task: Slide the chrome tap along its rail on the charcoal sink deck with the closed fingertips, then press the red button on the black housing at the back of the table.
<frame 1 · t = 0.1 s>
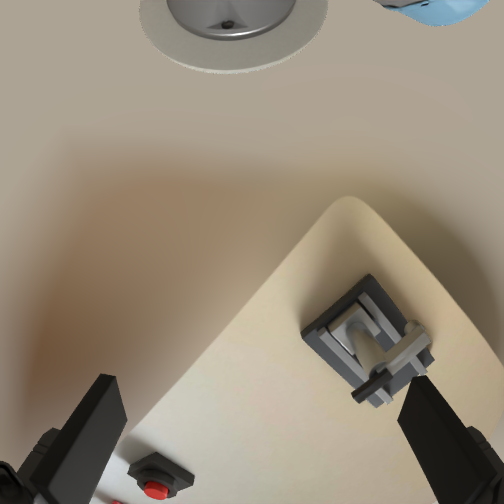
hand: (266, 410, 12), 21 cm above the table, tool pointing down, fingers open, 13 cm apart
sink deck: (372, 346, 34), on the table
button: (156, 490, 36), point 4 cm above the table, slide at 0.1 cm
button box: (161, 471, 40), on the table
tap: (375, 340, 26), point 7 cm above the table, slide at 0.0 cm
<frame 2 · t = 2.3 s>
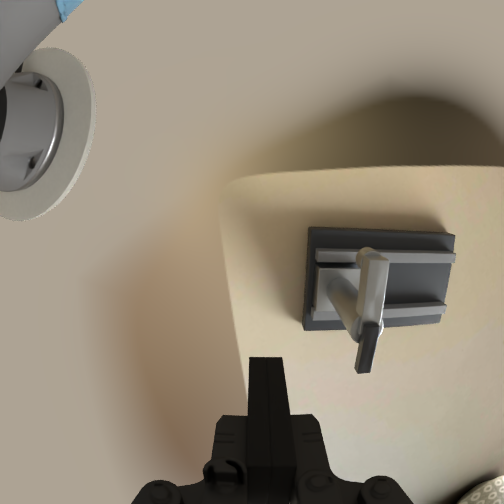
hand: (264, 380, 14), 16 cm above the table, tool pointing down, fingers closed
planter: (472, 492, 44), on the table
sink deck: (380, 277, 30), on the table
tap: (351, 291, 23), point 7 cm above the table, slide at 0.0 cm
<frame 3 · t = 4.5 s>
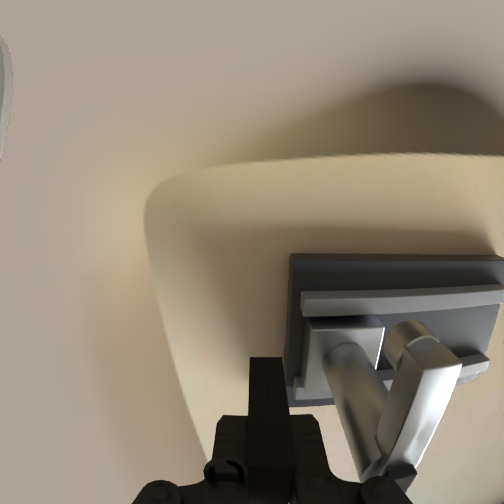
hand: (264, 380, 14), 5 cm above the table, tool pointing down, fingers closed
sink deck: (402, 326, 19), on the table
tap: (366, 380, 12), point 7 cm above the table, slide at 0.3 cm, touching gripper
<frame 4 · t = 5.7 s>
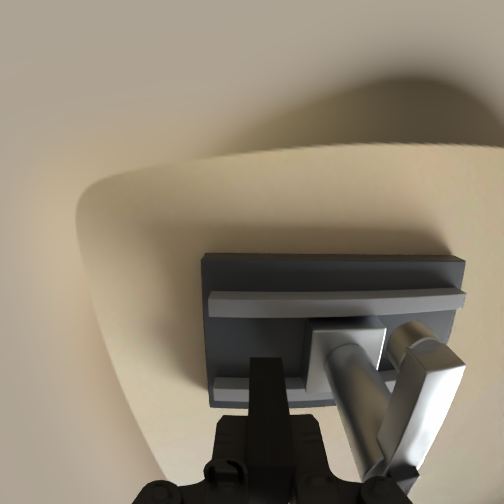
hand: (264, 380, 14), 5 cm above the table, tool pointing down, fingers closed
sink deck: (337, 331, 19), on the table
tap: (368, 382, 12), point 7 cm above the table, slide at 5.1 cm, touching gripper
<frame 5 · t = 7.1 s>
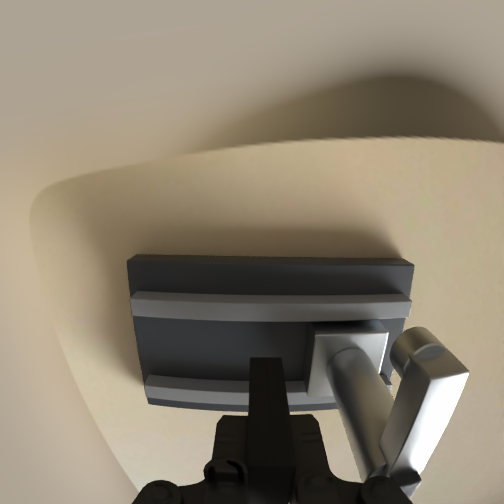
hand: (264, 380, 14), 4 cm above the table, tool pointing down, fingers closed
sink deck: (270, 336, 18), on the table
tap: (370, 386, 12), point 7 cm above the table, slide at 9.4 cm, touching gripper
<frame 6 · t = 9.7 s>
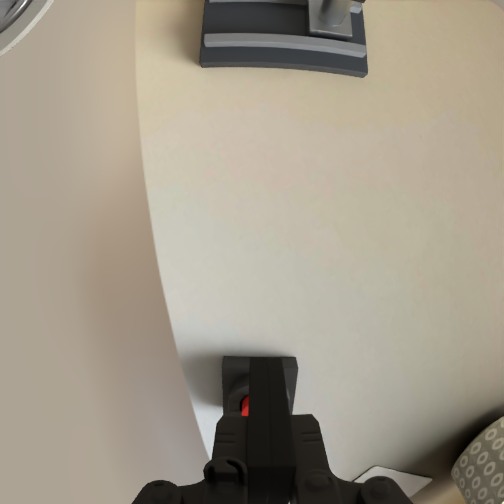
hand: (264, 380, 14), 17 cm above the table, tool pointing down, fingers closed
planter: (483, 437, 39), on the table
sink deck: (284, 27, 25), on the table
button: (259, 409, 30), point 4 cm above the table, slide at 0.1 cm
button box: (258, 384, 34), on the table
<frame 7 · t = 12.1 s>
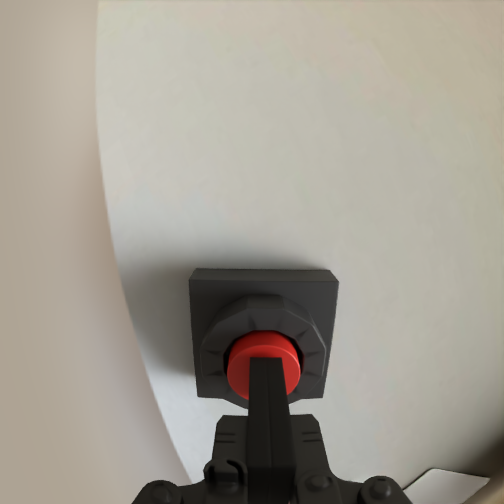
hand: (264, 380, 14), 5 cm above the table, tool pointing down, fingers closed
button: (263, 366, 15), point 4 cm above the table, slide at -0.2 cm, touching gripper
button box: (261, 330, 19), on the table
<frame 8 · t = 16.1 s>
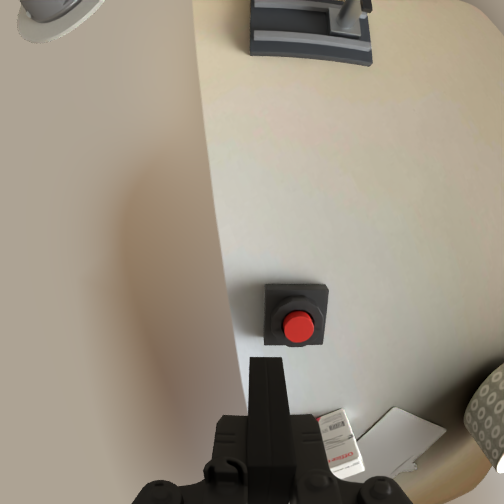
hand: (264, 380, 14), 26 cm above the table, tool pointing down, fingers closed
planter: (490, 388, 46), on the table
sink deck: (310, 28, 33), on the table
grey flat square panel: (385, 459, 50), on the table
button: (298, 326, 37), point 4 cm above the table, slide at 0.1 cm
ink box: (323, 423, 47), on the table
button box: (294, 312, 42), on the table
tap: (351, 3, 26), point 7 cm above the table, slide at 9.4 cm
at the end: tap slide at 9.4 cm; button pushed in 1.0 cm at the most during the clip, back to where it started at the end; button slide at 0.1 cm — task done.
